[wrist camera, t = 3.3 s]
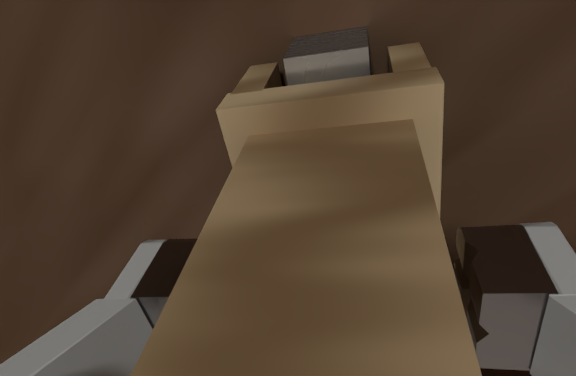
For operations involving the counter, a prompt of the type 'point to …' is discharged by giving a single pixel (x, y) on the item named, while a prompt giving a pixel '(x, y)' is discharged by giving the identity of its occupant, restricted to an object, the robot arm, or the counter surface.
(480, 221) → the counter surface
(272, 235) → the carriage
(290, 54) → the rail
